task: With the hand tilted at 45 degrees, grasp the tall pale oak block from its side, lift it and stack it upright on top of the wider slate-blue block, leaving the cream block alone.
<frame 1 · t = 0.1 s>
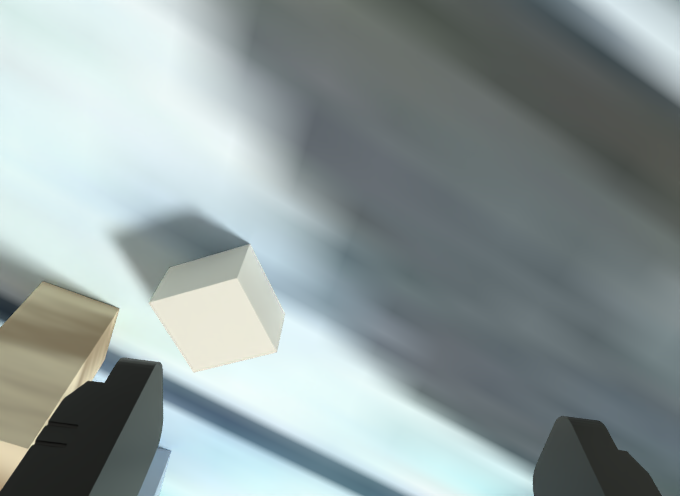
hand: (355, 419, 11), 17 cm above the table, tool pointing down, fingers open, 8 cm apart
cream block: (229, 289, 31), on the table
oak block: (74, 322, 33), on the table
blue base block: (117, 466, 40), on the table
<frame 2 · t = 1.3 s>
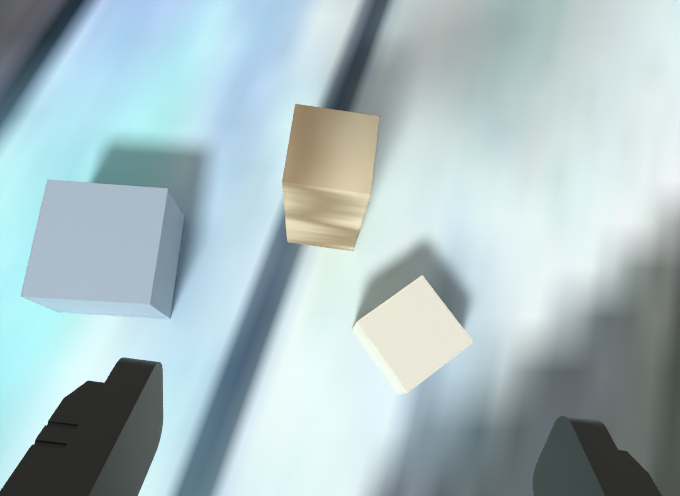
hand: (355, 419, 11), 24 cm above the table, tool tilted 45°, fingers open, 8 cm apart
cream block: (404, 339, 35), on the table
oak block: (324, 215, 37), on the table
blue base block: (124, 263, 36), on the table
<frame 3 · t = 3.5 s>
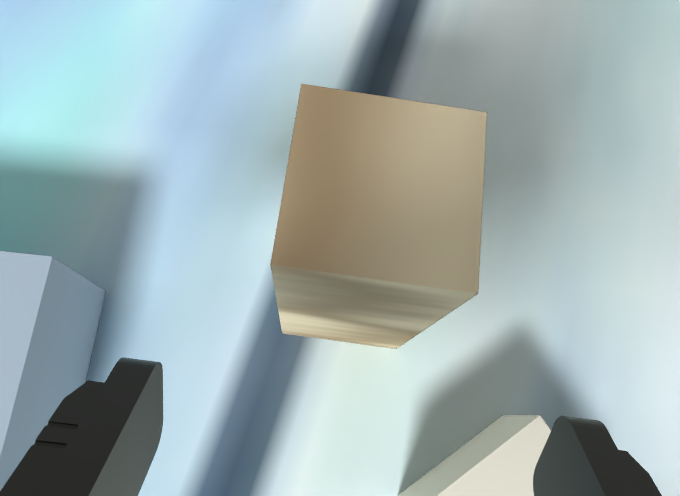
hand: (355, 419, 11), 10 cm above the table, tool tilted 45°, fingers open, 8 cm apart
oak block: (346, 285, 22), on the table
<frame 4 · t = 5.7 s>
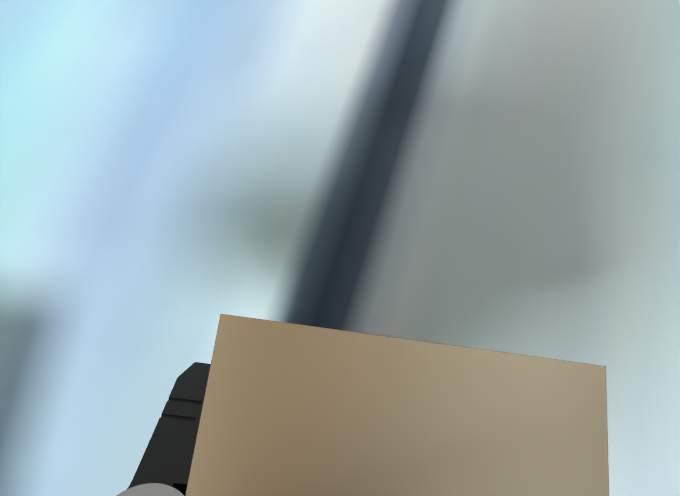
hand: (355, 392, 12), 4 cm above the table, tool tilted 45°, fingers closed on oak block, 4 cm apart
oak block: (332, 469, 15), on the table, touching gripper
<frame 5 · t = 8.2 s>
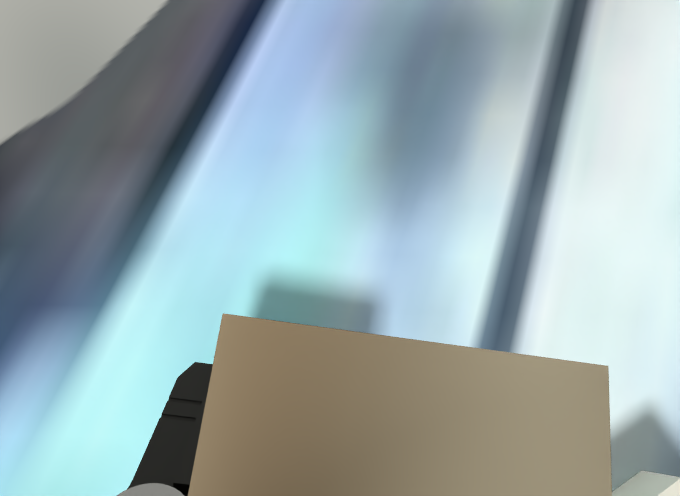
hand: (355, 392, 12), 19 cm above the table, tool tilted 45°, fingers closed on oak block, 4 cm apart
oak block: (333, 468, 15), point 15 cm above the table, touching gripper
when the fingers open (11 cm above the table, at t = 10.6 s): oak block drops 2 cm, resting on blue base block.
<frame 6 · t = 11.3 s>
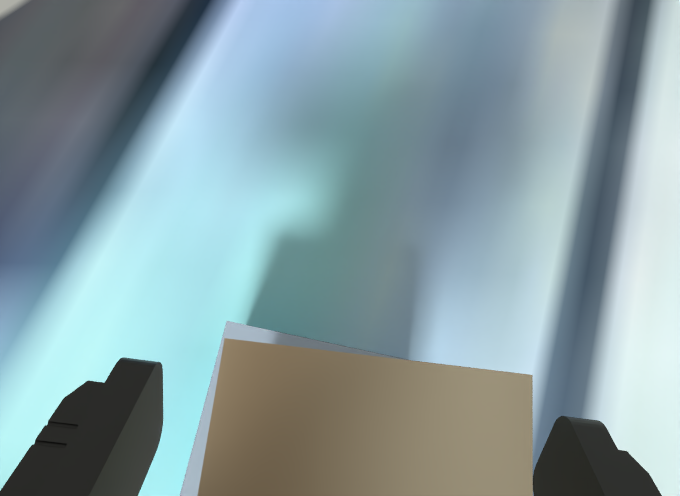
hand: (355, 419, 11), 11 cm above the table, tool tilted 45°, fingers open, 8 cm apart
oak block: (322, 464, 17), point 5 cm above the table, touching blue base block
blue base block: (305, 446, 21), on the table, touching oak block
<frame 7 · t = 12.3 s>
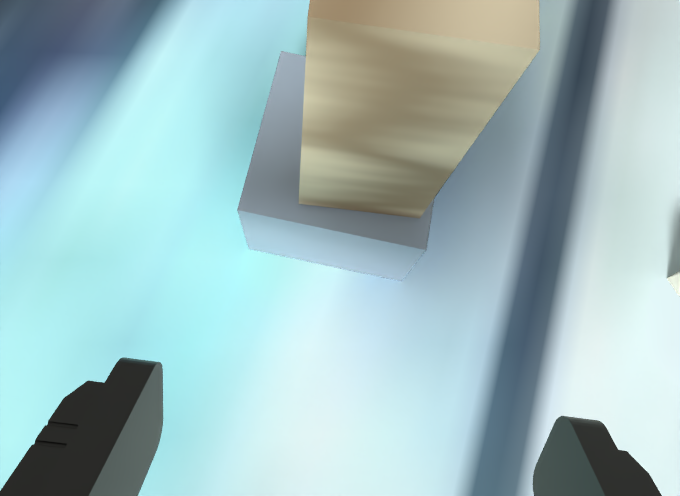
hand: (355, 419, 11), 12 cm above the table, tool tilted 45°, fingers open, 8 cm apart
oak block: (364, 155, 21), point 5 cm above the table, touching blue base block
blue base block: (340, 196, 25), on the table, touching oak block
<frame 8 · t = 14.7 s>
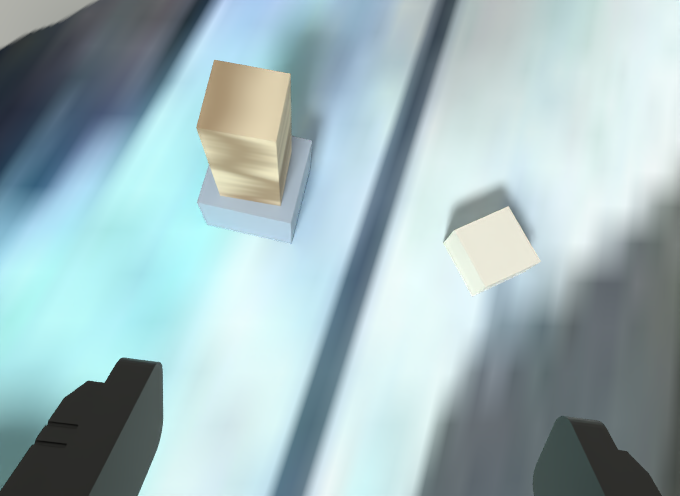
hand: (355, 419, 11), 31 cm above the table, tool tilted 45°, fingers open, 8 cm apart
cream block: (482, 258, 45), on the table
oak block: (256, 173, 40), point 5 cm above the table, touching blue base block
blue base block: (260, 196, 45), on the table, touching oak block
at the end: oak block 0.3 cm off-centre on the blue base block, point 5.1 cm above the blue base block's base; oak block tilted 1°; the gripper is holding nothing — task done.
